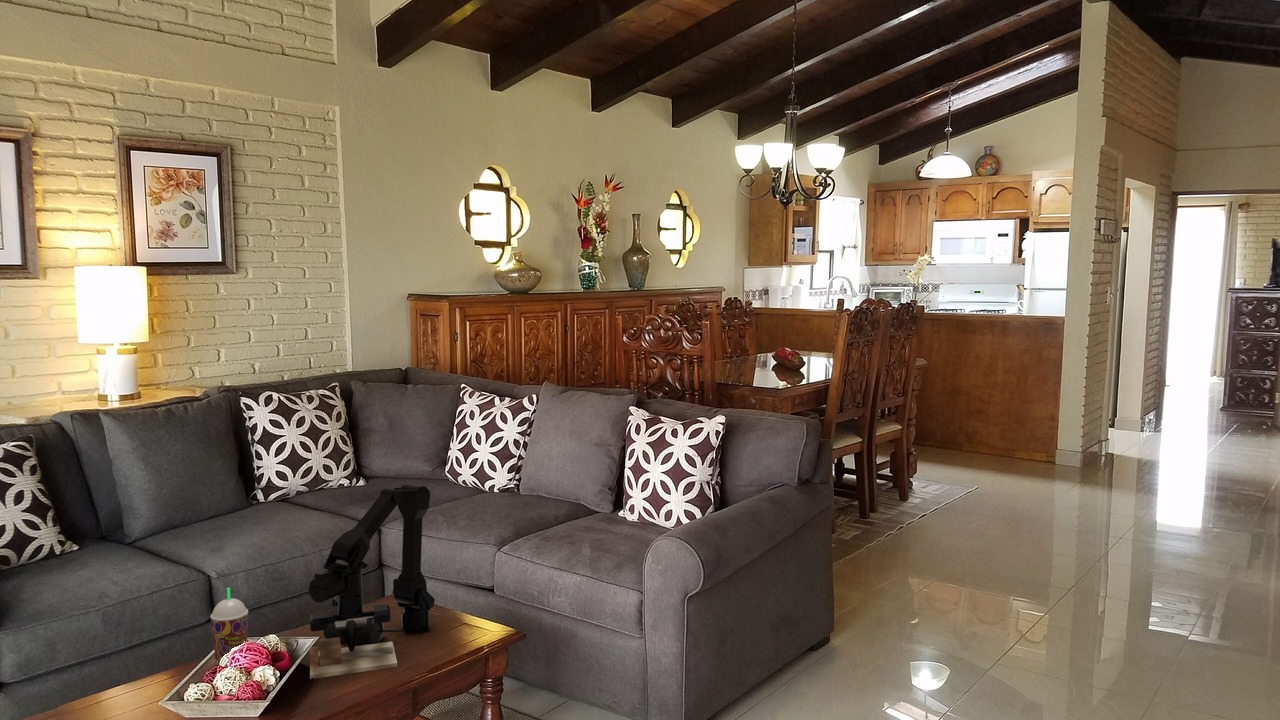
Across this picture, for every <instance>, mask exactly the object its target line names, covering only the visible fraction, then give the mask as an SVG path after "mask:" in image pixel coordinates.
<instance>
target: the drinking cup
mask: <svg viewBox="0 0 1280 720" xmlns="http://www.w3.org/2000/svg"><path fill="white" fill-rule="evenodd" d="M366 624H367V627H366V628H363V629H362V631H361V633H360V635H359V637H358V639H357V642H356V644H362V645H370V644H377V643H381V640H382V639H383V636H384V633H402V629H385V626H384V623H377V622H375V621H374V618H371V619H367V621H366ZM348 628H349V633H350V639H351V643H352V633H353V621H348ZM323 636H324V639H329V638H337V637H340V641H341V642H346V641H345V639H344V637H343V636H342V634H341V632H340V631H338V632H336V631H335V623H331V624H327V628H326V629H325V630H323Z"/></svg>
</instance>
